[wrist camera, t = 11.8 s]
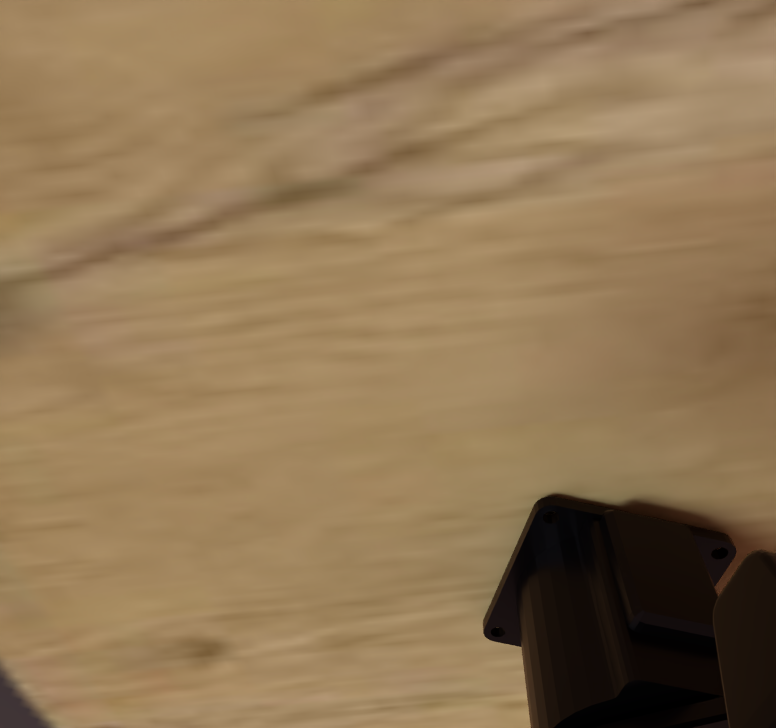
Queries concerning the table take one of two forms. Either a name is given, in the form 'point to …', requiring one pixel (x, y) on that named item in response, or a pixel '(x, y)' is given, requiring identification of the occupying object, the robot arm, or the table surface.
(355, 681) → the table surface
